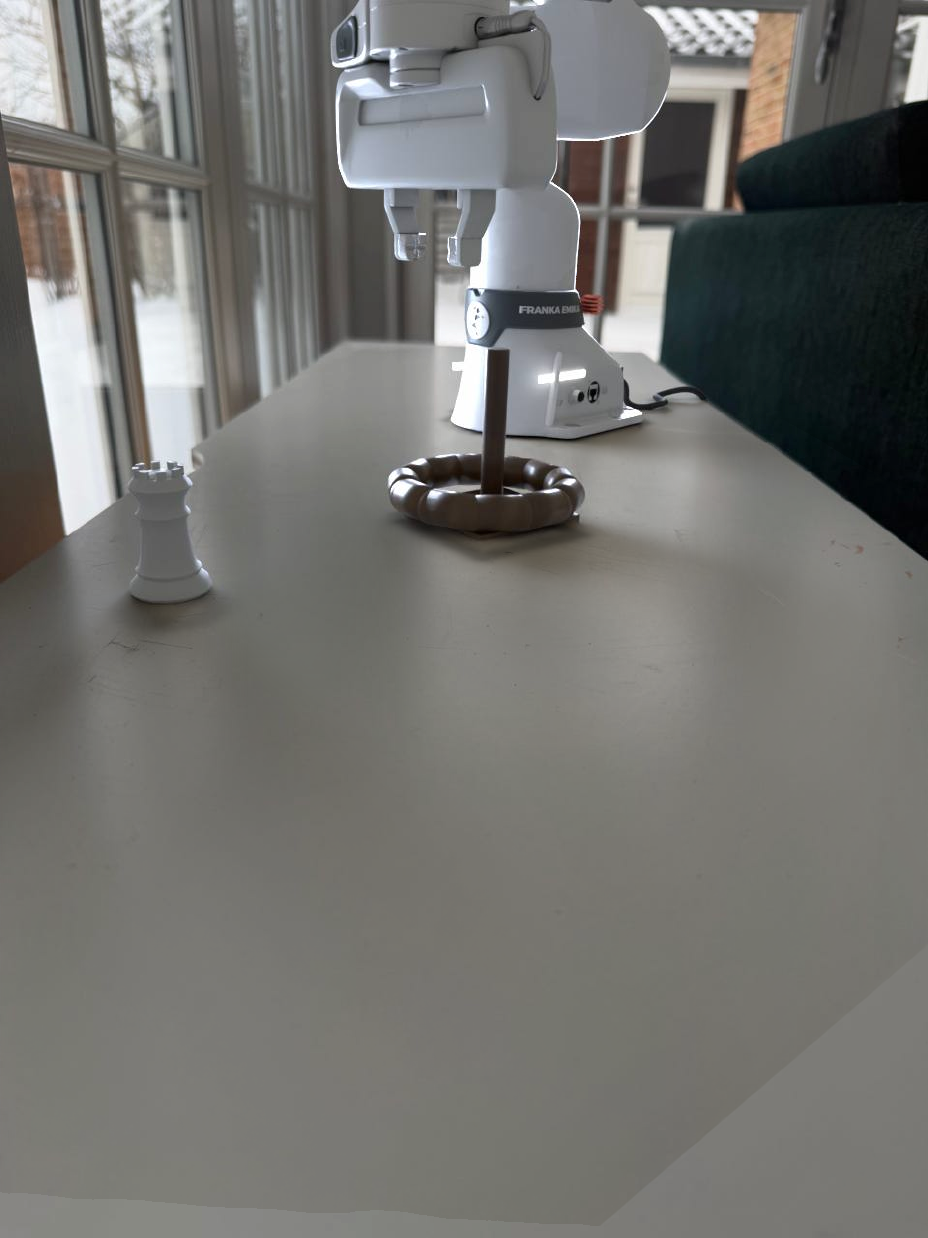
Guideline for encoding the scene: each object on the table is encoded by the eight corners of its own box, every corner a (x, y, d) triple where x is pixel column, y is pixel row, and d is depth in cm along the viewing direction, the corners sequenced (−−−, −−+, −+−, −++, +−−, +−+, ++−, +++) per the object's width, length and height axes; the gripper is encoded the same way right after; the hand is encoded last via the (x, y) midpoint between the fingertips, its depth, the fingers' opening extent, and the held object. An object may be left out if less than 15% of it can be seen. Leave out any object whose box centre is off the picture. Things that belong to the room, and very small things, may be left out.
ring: (498, 472, 72) (499, 443, 71) (621, 515, 62) (624, 481, 61) (352, 496, 65) (351, 464, 64) (466, 549, 55) (467, 512, 54)
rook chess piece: (169, 632, 46) (152, 482, 43) (113, 612, 48) (92, 467, 45) (232, 605, 49) (221, 464, 46) (177, 587, 52) (162, 452, 48)
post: (498, 503, 69) (506, 338, 64) (578, 534, 63) (594, 353, 58) (403, 522, 64) (403, 343, 59) (479, 557, 58) (487, 360, 53)
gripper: (591, 12, 50) (572, 273, 56) (393, 50, 65) (394, 254, 71) (506, -5, 47) (495, 275, 52) (317, 39, 61) (325, 255, 67)
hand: (436, 263), depth 62 cm, fingers open, 5 cm apart
